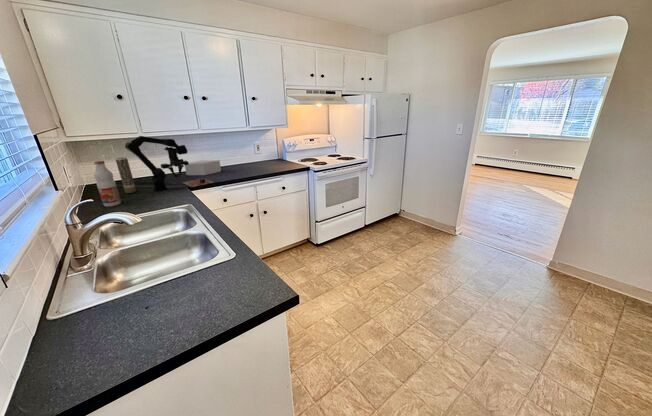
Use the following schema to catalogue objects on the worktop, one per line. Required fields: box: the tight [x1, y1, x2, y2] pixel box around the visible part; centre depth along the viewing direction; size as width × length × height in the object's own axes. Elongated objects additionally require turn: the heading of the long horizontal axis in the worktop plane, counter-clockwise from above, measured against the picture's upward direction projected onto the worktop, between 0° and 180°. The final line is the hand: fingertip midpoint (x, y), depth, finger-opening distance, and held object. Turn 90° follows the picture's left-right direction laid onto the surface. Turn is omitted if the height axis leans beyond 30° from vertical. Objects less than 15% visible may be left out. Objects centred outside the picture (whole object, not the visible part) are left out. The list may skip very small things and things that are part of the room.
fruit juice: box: [93, 160, 122, 207], centre depth 168 cm, size 9×9×28 cm
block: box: [184, 159, 222, 176], centre depth 248 cm, size 15×30×11 cm, turn 119°
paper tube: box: [115, 157, 137, 194], centre depth 193 cm, size 7×7×25 cm
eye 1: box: [174, 172, 181, 178], centre depth 210 cm, size 4×4×3 cm
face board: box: [182, 178, 215, 188], centre depth 219 cm, size 18×18×1 cm
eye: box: [198, 177, 206, 183], centre depth 217 cm, size 4×4×3 cm
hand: (177, 175), depth 210 cm, fingers closed on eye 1, 4 cm apart
